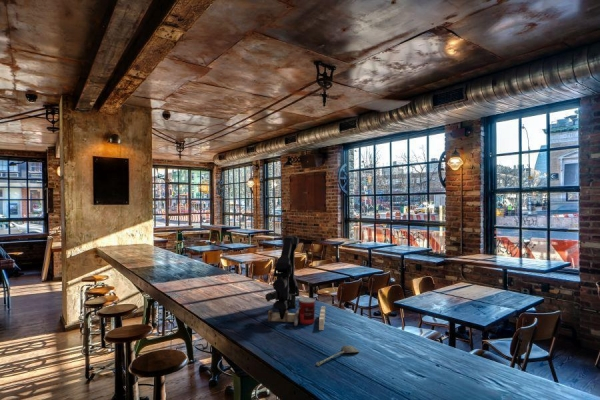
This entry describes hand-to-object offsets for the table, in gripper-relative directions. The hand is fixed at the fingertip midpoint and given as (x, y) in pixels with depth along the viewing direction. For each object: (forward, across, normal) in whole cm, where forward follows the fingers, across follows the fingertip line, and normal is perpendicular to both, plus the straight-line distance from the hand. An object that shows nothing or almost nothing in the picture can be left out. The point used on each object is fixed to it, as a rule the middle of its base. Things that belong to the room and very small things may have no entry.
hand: (282, 318), depth 174 cm
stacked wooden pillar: (+1, 0, +1) cm, 1 cm away
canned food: (+1, 0, +12) cm, 12 cm away
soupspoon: (+2, +37, +28) cm, 46 cm away
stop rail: (+1, 0, +20) cm, 20 cm away
